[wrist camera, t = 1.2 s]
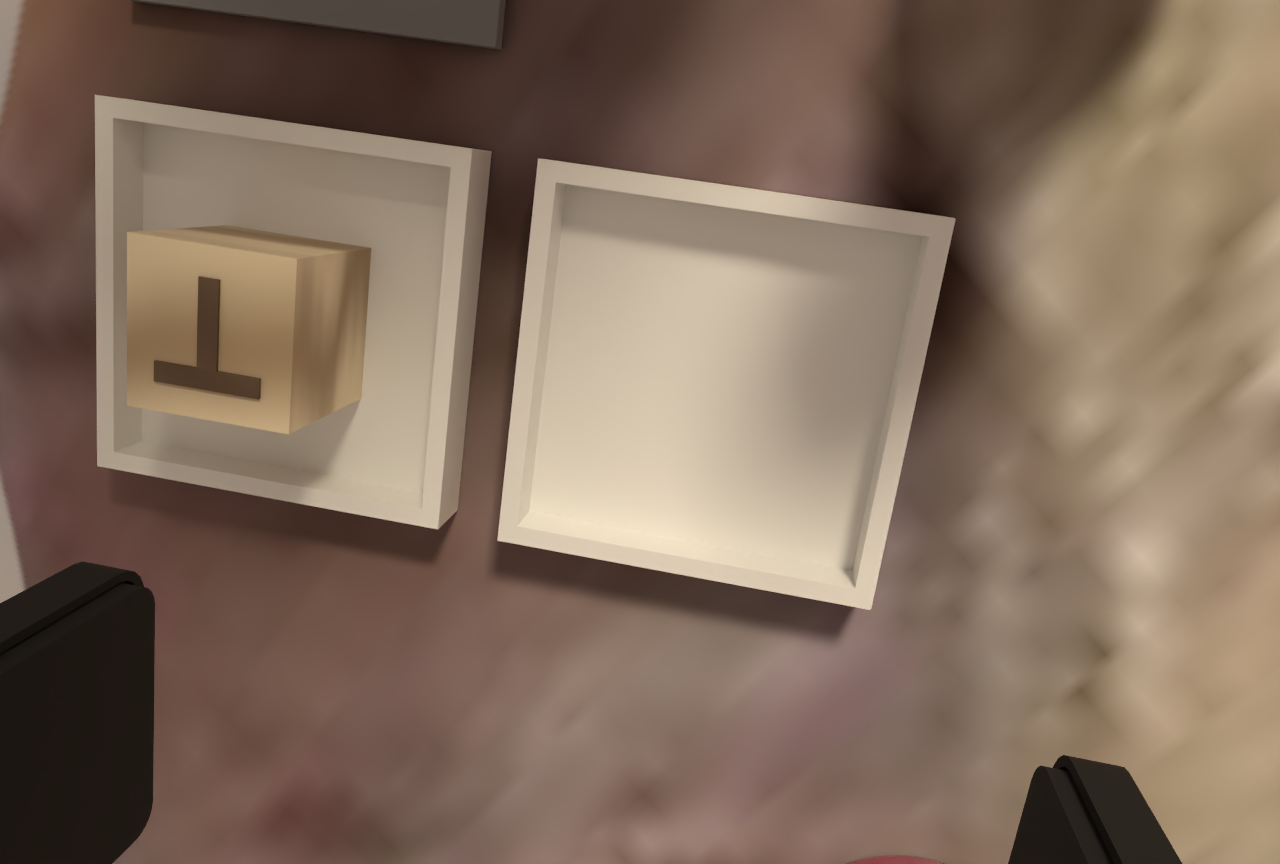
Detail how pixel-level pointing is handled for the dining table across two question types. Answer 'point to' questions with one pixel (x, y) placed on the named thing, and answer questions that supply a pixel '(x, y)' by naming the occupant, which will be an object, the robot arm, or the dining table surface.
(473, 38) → the pad
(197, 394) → the letter cube
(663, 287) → the tray
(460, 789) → the dining table surface
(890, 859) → the plant pot
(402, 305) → the tray
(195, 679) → the dining table surface
